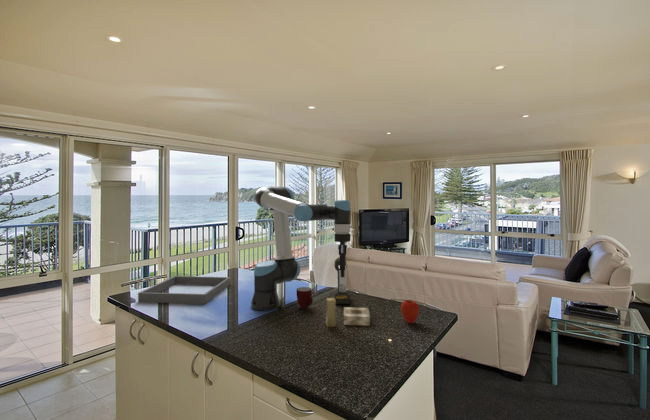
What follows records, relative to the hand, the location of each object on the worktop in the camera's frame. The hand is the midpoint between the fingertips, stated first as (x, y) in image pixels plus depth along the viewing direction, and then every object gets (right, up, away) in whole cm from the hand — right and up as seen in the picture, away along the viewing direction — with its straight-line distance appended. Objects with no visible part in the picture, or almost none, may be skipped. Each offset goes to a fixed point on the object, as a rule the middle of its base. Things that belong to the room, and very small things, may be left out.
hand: (342, 282), depth 151 cm
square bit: (-6, -19, -4) cm, 20 cm away
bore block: (+7, -18, +2) cm, 20 cm away
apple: (+31, -19, 0) cm, 37 cm away
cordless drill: (+1, -17, +32) cm, 36 cm away
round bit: (0, -4, 0) cm, 4 cm away
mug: (-19, -18, +18) cm, 31 cm away
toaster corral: (-91, -16, +44) cm, 102 cm away
